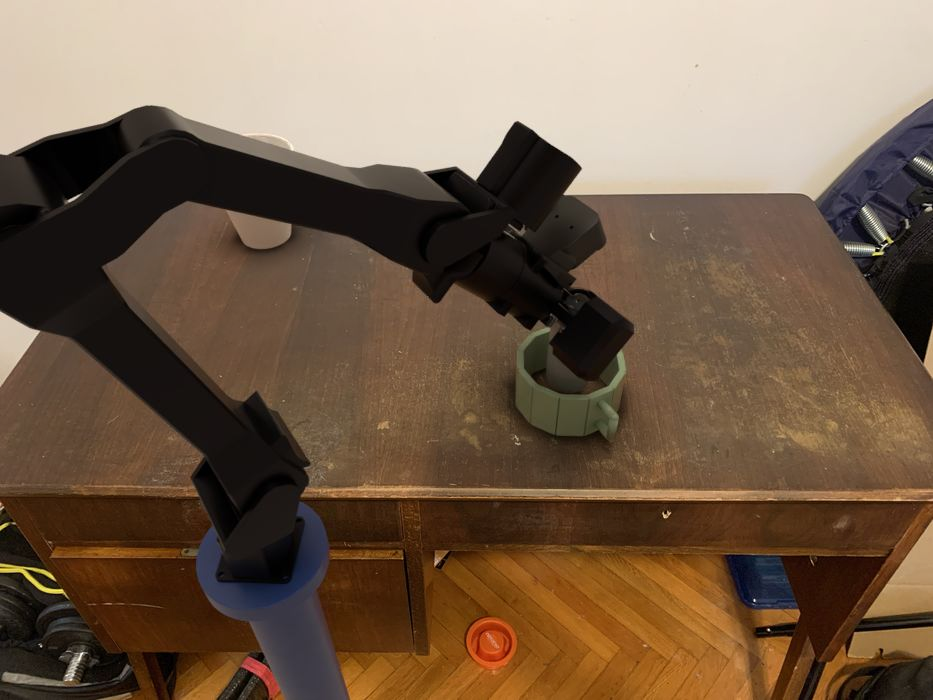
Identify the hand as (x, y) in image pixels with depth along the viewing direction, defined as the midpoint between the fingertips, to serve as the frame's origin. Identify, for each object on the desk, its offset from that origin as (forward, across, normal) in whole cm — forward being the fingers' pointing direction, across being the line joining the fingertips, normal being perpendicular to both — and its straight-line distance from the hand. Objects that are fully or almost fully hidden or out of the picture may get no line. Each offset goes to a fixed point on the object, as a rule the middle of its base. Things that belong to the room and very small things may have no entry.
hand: (584, 321), depth 72 cm
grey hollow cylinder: (+4, 0, +6) cm, 7 cm away
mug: (+6, -1, +8) cm, 10 cm away
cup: (-4, +48, +19) cm, 51 cm away
